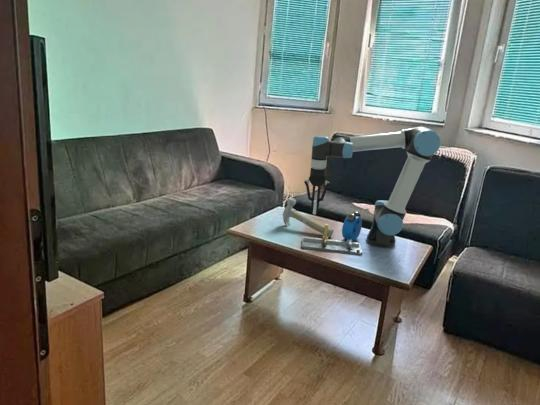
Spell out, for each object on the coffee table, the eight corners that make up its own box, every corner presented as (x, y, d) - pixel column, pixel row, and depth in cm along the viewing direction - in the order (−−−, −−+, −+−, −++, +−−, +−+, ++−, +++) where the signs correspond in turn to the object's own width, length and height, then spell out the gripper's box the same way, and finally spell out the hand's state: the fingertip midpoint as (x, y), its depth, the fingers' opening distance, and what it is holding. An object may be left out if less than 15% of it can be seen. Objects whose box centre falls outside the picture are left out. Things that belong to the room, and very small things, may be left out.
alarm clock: (350, 234, 246) (353, 209, 242) (360, 237, 243) (364, 211, 239) (340, 240, 236) (343, 214, 232) (350, 244, 233) (354, 216, 228)
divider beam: (358, 245, 229) (359, 239, 228) (359, 250, 221) (360, 245, 221) (304, 239, 230) (304, 233, 230) (303, 244, 223) (304, 239, 222)
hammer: (337, 220, 238) (291, 196, 250) (334, 222, 234) (287, 198, 246) (328, 245, 244) (283, 221, 256) (325, 247, 240) (279, 223, 252)
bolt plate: (359, 246, 230) (360, 243, 229) (362, 255, 219) (362, 251, 219) (302, 240, 232) (302, 237, 231) (301, 248, 221) (301, 244, 221)
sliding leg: (326, 240, 230) (329, 223, 227) (327, 246, 222) (329, 228, 220) (322, 240, 230) (324, 222, 227) (322, 245, 223) (324, 227, 220)
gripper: (331, 167, 221) (327, 212, 228) (305, 165, 222) (301, 210, 229) (332, 170, 214) (327, 216, 220) (304, 168, 215) (301, 214, 221)
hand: (314, 213), depth 224 cm, fingers closed
